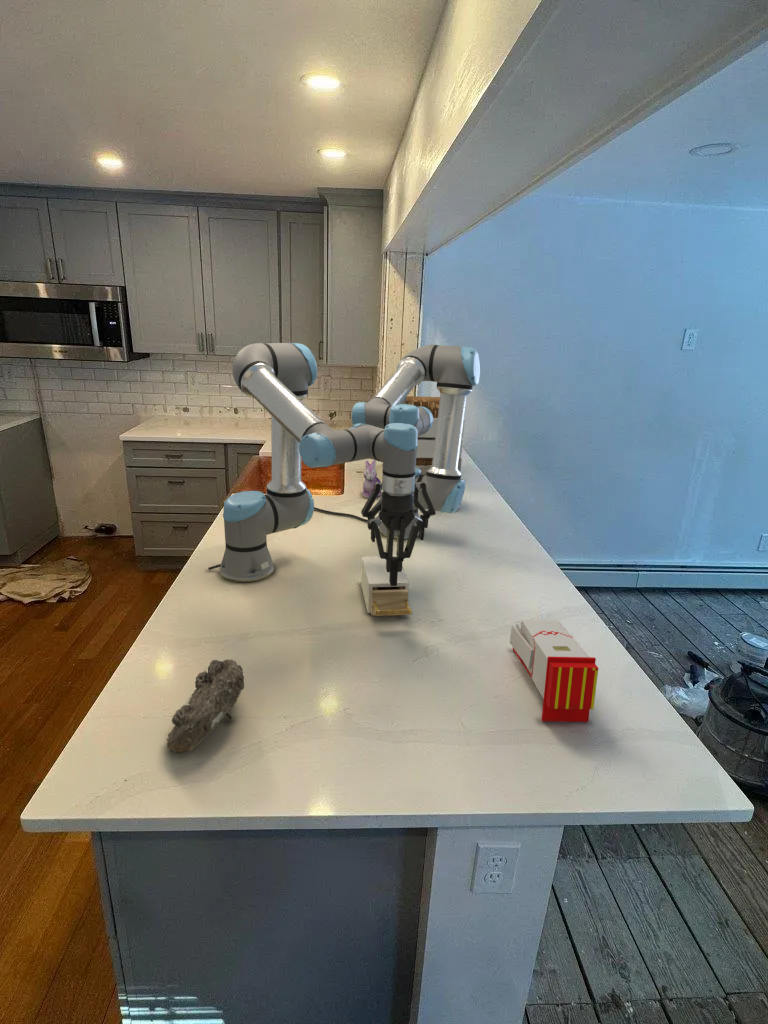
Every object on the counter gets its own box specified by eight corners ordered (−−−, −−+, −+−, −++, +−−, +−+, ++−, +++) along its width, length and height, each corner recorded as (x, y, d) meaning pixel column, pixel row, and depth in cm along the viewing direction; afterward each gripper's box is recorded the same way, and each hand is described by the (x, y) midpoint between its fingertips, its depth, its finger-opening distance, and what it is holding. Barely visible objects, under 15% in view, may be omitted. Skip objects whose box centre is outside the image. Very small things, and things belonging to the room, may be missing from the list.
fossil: (192, 660, 117) (244, 628, 112) (224, 691, 120) (276, 661, 115) (142, 746, 98) (202, 712, 93) (182, 779, 101) (242, 748, 96)
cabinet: (407, 611, 149) (409, 582, 146) (367, 613, 147) (368, 583, 144) (396, 582, 164) (398, 555, 161) (360, 583, 163) (361, 556, 160)
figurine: (366, 499, 233) (368, 464, 228) (356, 492, 241) (357, 458, 236) (387, 497, 237) (388, 462, 232) (376, 490, 246) (377, 456, 241)
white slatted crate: (382, 463, 289) (386, 382, 275) (445, 464, 293) (451, 384, 279) (390, 482, 257) (394, 392, 243) (460, 483, 261) (468, 394, 247)
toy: (555, 605, 135) (607, 664, 106) (550, 657, 138) (599, 728, 109) (505, 604, 135) (543, 662, 106) (500, 656, 138) (537, 727, 108)
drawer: (411, 626, 140) (413, 602, 138) (374, 627, 139) (375, 603, 137) (397, 586, 160) (398, 565, 158) (364, 587, 159) (365, 566, 156)
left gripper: (372, 496, 126) (368, 591, 134) (429, 496, 128) (422, 589, 136) (368, 486, 133) (364, 577, 141) (422, 486, 135) (416, 575, 143)
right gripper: (356, 468, 143) (354, 546, 150) (451, 468, 148) (444, 543, 155) (352, 461, 150) (350, 535, 157) (442, 460, 155) (436, 532, 162)
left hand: (393, 583), depth 139 cm, fingers closed
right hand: (397, 539), depth 156 cm, fingers open, 13 cm apart
